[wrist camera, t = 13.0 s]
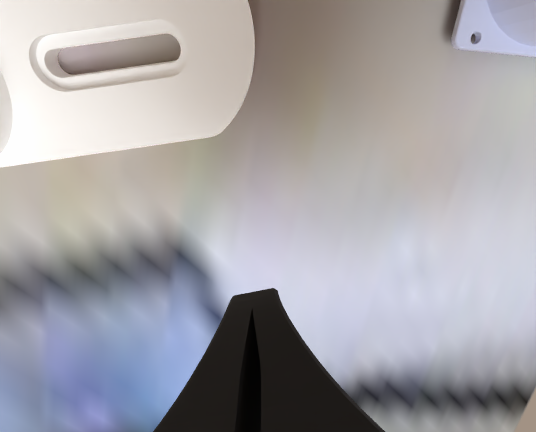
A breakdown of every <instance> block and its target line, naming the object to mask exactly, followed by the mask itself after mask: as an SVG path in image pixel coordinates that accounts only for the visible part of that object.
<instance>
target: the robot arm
mask: <svg viewBox="0 0 536 432" xmlns="http://www.w3.org/2000/svg"><path fill="white" fill-rule="evenodd" d="M472 34H475V36H476V40H475V42H474V43H473V44H472V43H471V41H470V40H471V36H472ZM451 43H452V46H453V47H454V48H455V49H458V50H466V51H476V52H486V53H496V54H506V55H516V56H525V57H535V58H536V0H461V3H460V7H459V11H458V15H457V19H456V22H455V26H454V30H453V34H452V39H451ZM153 432H385V431H384V430H383V429H382V428H381V427H380V426H379V425H378V424H377V423H376V422H374V421H373V420H372V419H371V418H370V417H369V416H368V415H367V414H366V413H365V412H364V411H363V410H362V409H361V408H360V407H359V406H358V405H357V404H356V403H355V402H354V401H353V400H352V399H351V398H350V396H349V395H348V394H347V393H346V392H345V391H344V390H343V389H342V388H341V387H340V386H339V384H338V383H337V382H336V381H335V380H334V379H333V378H332V376H331V375H330V374H329V373H328V372H327V371H326V369H325V368H324V367H323V366H322V364H321V363H320V362H319V361H318V359H317V358H316V357H315V355H314V354H313V353H312V351H311V350H310V349H309V347H308V346H307V345H306V343H305V342H304V340H303V339H302V338H301V336H300V334H299V333H298V331H297V330H296V328H295V327H294V325H293V324H292V322H291V320H290V319H289V317H288V315H287V313H286V311H285V309H284V307H283V305H282V303H281V301H280V298H279V295H278V291H277V290H276V289H274V288H271V289H266V290H261V291H256V292H251V293H245V294H240V295H235V296H233V297H232V299H231V300H230V303H229V305H228V307H227V310H226V312H225V314H224V316H223V318H222V321H221V323H220V325H219V327H218V329H217V331H216V333H215V335H214V337H213V339H212V340H211V342H210V344H209V346H208V348H207V350H206V352H205V354H204V355H203V357H202V359H201V361H200V362H199V364H198V366H197V367H196V369H195V371H194V372H193V374H192V376H191V377H190V379H189V381H188V382H187V384H186V385H185V387H184V389H183V390H182V392H181V393H180V395H179V396H178V398H177V399H176V401H175V402H174V404H173V405H172V406H171V408H170V409H169V411H168V412H167V414H166V415H165V416H164V418H163V419H162V421H161V422H160V423H159V425H158V426H157V427H156V429H155V430H154V431H153Z"/></svg>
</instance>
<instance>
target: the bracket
mask: <svg viewBox="0 0 536 432" xmlns="http://www.w3.org/2000/svg"><path fill="white" fill-rule="evenodd" d="M160 34H170V35H172V36H174V37H175V38H176V39H177V40H178V42H179V44H180V47H181V54H180V57H179V58H178V60H176V61H169V62H162V63H155V64H148V65H141V66H134V67H127V68H120V69H112V70H105V71H98V72H91V73H84V74H77V75H71V74H68V73H66V72H65V71H63V70H62V68H61V67H60V65H59V63H58V54H59V52H60V50H62V49H63V48H68V47H75V46H82V45H89V44H96V43H103V42H110V41H117V40H124V39H131V38H138V37H146V36H153V35H160ZM254 57H255V38H254V27H253V21H252V15H251V10H250V7H249V3H248V0H0V167H6V166H13V165H20V164H27V163H34V162H41V161H48V160H55V159H62V158H69V157H76V156H83V155H90V154H97V153H104V152H111V151H118V150H125V149H132V148H139V147H146V146H153V145H160V144H167V143H174V142H181V141H188V140H195V139H202V138H209V137H213V136H216V135H218V134H220V133H221V132H222V131H223V130H224V129H225V128H226V127H227V126H228V125H229V124H230V123H231V121H232V120H233V119H234V117H235V116H236V114H237V113H238V111H239V109H240V107H241V105H242V104H243V101H244V99H245V97H246V94H247V92H248V89H249V85H250V82H251V78H252V73H253V67H254Z"/></svg>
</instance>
